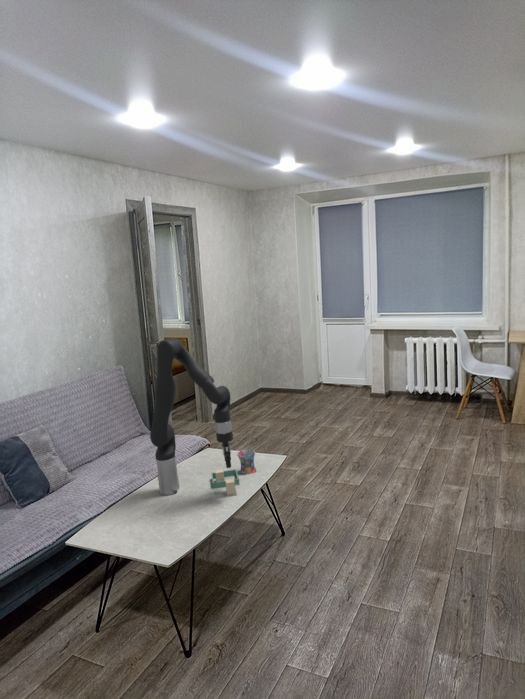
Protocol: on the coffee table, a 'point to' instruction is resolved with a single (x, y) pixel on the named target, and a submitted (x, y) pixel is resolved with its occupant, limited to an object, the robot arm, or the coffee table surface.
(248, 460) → the floral patterned vase
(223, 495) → the slate board
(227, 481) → the stone right
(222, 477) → the block
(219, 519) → the coffee table surface
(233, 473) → the green bin
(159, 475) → the robot arm
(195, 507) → the coffee table surface
